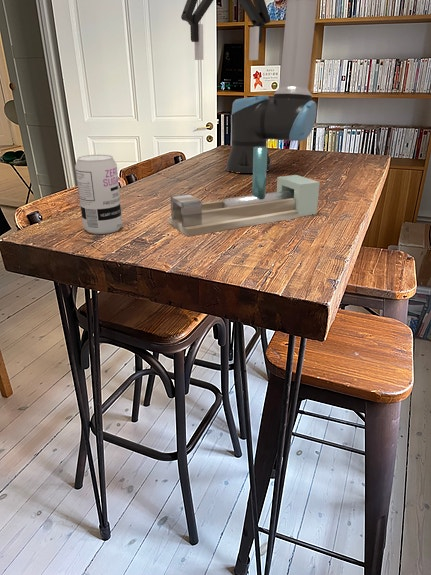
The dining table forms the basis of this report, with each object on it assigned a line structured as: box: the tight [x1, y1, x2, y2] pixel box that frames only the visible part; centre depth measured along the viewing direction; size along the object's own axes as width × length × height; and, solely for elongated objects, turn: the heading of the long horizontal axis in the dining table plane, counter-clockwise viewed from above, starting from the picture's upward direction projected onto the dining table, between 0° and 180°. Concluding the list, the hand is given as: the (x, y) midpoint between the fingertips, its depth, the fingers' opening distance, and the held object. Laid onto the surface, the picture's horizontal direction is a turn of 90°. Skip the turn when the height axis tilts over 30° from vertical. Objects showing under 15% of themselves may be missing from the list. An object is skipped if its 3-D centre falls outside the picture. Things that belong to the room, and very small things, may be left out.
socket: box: [276, 174, 320, 218], centre depth 107 cm, size 9×6×8 cm, turn 27°
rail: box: [168, 193, 299, 237], centre depth 100 cm, size 10×28×6 cm, turn 117°
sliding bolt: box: [222, 146, 294, 208], centre depth 101 cm, size 3×20×14 cm, turn 117°
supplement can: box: [74, 154, 124, 235], centre depth 93 cm, size 8×8×15 cm
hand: (227, 60), depth 99 cm, fingers open, 13 cm apart
